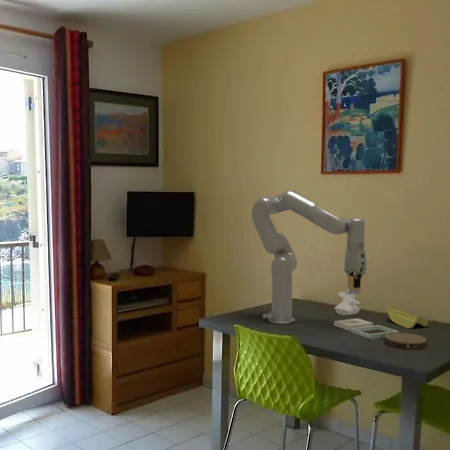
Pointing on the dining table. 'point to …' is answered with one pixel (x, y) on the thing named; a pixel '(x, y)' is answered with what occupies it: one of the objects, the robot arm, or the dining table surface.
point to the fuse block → (352, 323)
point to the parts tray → (370, 336)
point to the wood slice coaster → (405, 341)
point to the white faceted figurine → (347, 304)
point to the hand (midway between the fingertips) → (354, 286)
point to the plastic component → (405, 318)
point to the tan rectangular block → (351, 285)
